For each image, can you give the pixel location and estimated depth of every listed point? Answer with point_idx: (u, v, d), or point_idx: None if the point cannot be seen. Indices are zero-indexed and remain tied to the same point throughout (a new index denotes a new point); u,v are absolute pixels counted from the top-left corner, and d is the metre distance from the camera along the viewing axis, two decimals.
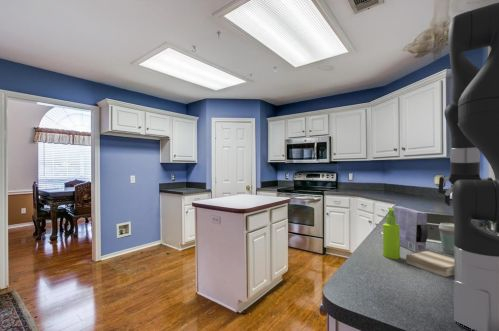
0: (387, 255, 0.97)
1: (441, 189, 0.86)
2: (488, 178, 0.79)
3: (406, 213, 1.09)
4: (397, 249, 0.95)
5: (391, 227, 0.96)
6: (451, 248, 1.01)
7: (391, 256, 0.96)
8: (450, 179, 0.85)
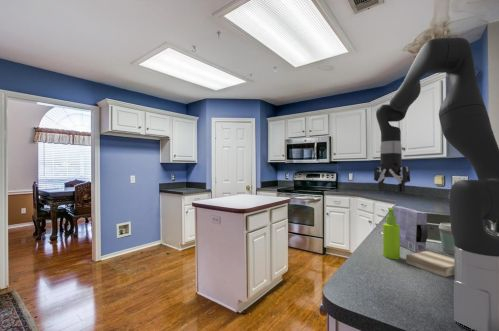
0: (387, 255, 0.97)
1: (375, 177, 1.04)
2: (404, 167, 0.93)
3: (406, 213, 1.09)
4: (397, 249, 0.95)
5: (391, 227, 0.96)
6: (451, 248, 1.01)
7: (391, 256, 0.96)
8: (381, 168, 1.01)
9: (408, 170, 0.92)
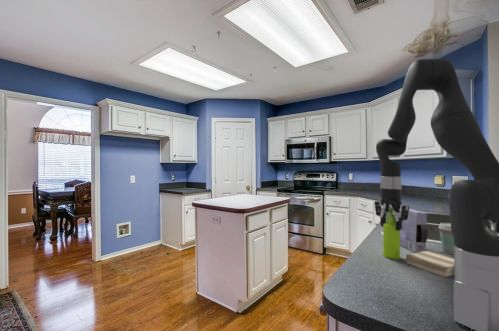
0: (387, 255, 0.97)
1: (377, 211, 1.03)
2: (404, 205, 0.93)
3: None
4: (397, 249, 0.95)
5: (391, 227, 0.96)
6: (451, 248, 1.01)
7: (391, 256, 0.96)
8: (380, 202, 1.01)
9: (407, 209, 0.92)
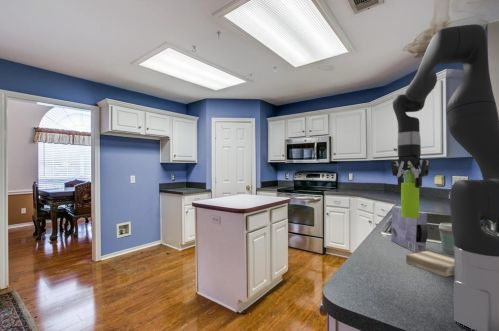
0: (406, 214, 0.92)
1: (394, 172, 0.98)
2: (424, 160, 0.88)
3: None
4: (417, 208, 0.91)
5: (411, 185, 0.91)
6: (451, 248, 1.01)
7: (410, 215, 0.91)
8: (398, 161, 0.97)
9: (428, 164, 0.88)
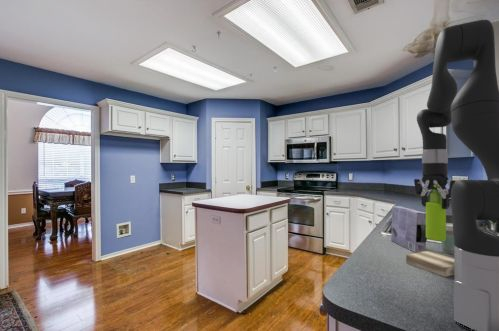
0: (432, 237, 0.87)
1: (417, 190, 0.93)
2: None
3: (406, 213, 1.09)
4: (444, 230, 0.86)
5: (437, 205, 0.86)
6: (451, 248, 1.01)
7: (437, 238, 0.86)
8: (422, 179, 0.92)
9: None
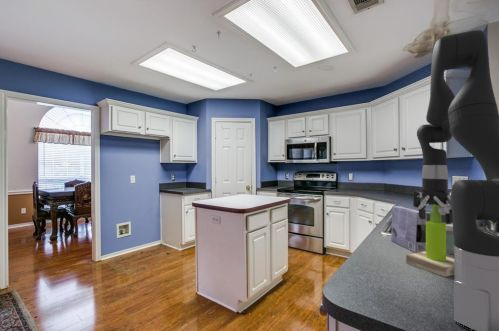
0: (432, 257, 0.87)
1: (415, 203, 0.94)
2: None
3: (406, 213, 1.09)
4: (444, 250, 0.85)
5: (437, 225, 0.86)
6: (451, 248, 1.01)
7: (437, 258, 0.86)
8: (422, 194, 0.92)
9: None
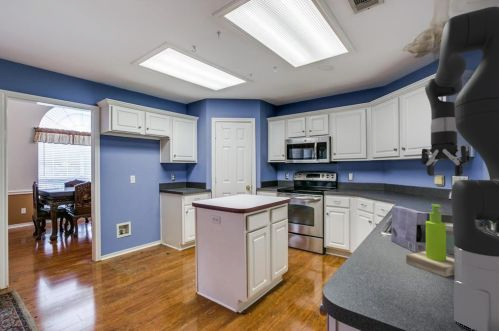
0: (432, 257, 0.87)
1: (423, 160, 0.92)
2: (462, 146, 0.81)
3: (406, 213, 1.09)
4: (444, 250, 0.85)
5: (437, 225, 0.86)
6: (451, 248, 1.01)
7: (437, 258, 0.86)
8: (430, 150, 0.90)
9: (468, 150, 0.81)
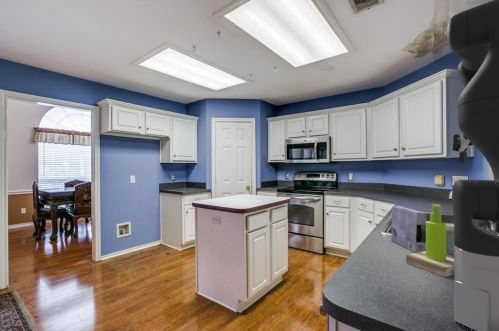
0: (432, 257, 0.87)
1: (455, 146, 0.86)
2: None
3: (406, 213, 1.09)
4: (444, 250, 0.85)
5: (437, 225, 0.86)
6: (451, 248, 1.01)
7: (437, 258, 0.86)
8: (464, 135, 0.84)
9: None
